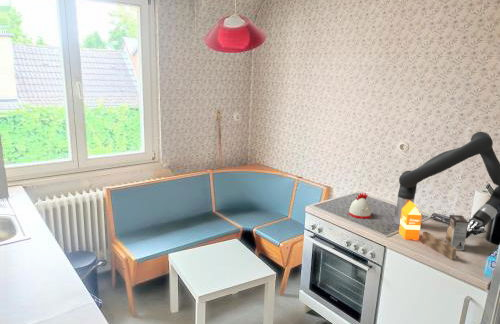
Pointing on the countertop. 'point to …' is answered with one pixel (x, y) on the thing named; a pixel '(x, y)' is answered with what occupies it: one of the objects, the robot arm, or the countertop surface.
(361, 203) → the kitchen timer
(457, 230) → the coffee box
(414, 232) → the orange juice
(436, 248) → the walnut board
